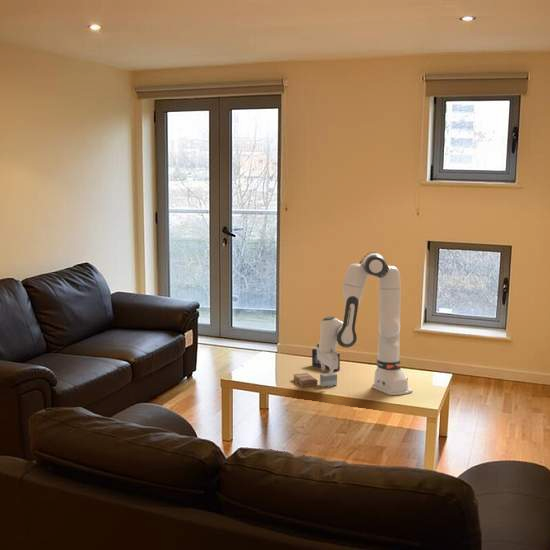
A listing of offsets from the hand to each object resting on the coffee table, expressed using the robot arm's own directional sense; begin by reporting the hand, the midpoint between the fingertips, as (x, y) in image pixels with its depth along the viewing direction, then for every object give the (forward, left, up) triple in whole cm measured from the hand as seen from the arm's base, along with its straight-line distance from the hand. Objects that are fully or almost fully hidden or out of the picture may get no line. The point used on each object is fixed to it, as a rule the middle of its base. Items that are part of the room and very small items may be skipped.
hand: (326, 372), depth 359 cm
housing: (0, -1, -7) cm, 7 cm away
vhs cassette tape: (+29, -12, -7) cm, 32 cm away
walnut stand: (+8, +9, -7) cm, 14 cm away
